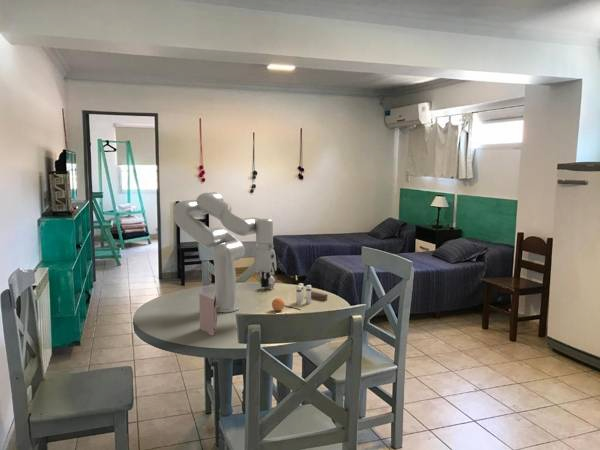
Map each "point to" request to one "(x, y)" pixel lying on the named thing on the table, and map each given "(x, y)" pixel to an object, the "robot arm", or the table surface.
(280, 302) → the ball
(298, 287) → the front pin
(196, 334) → the table surface
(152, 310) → the table surface
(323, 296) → the backstop wall
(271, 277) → the game die
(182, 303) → the table surface
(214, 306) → the greeting card
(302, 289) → the pin
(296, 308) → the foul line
